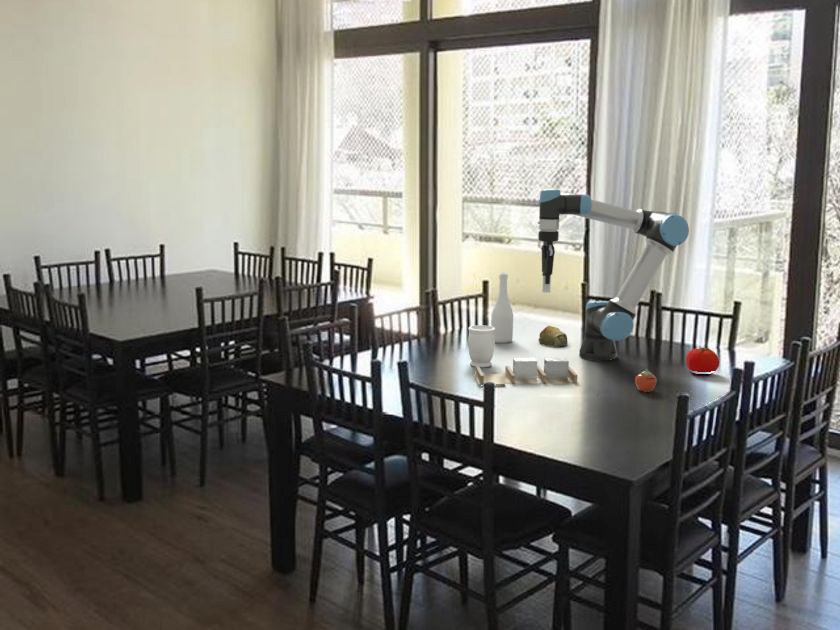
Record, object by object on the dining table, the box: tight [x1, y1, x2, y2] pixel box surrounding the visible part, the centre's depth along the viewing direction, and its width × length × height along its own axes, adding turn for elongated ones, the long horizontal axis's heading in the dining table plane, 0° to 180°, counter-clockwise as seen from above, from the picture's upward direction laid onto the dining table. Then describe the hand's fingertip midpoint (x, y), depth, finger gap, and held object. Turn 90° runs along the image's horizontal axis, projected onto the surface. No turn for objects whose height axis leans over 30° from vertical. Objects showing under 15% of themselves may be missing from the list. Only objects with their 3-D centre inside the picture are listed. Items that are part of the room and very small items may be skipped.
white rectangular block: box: [512, 357, 538, 380], centre depth 317 cm, size 8×4×7 cm, turn 94°
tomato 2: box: [685, 345, 720, 372], centre depth 331 cm, size 11×13×10 cm
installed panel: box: [543, 357, 570, 380], centre depth 318 cm, size 8×4×7 cm, turn 94°
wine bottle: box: [490, 272, 514, 344], centre depth 381 cm, size 10×10×30 cm
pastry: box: [538, 325, 568, 348], centre depth 379 cm, size 14×12×8 cm
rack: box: [473, 365, 579, 388], centre depth 317 cm, size 36×15×4 cm, turn 94°
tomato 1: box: [634, 368, 658, 392], centre depth 307 cm, size 7×7×8 cm
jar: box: [467, 324, 496, 368], centre depth 340 cm, size 11×10×15 cm
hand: (546, 292), depth 334 cm, fingers closed
